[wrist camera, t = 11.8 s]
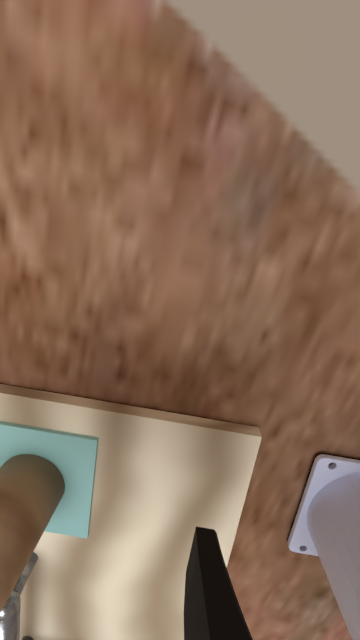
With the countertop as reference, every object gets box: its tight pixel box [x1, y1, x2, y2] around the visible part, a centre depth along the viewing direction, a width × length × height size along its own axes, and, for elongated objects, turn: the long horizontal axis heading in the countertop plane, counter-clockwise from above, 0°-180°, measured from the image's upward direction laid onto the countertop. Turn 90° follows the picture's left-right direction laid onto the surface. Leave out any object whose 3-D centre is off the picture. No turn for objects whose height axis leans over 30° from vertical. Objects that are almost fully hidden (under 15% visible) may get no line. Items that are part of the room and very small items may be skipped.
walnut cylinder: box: [0, 454, 65, 610], centre depth 17 cm, size 4×4×6 cm
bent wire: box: [0, 552, 38, 640], centre depth 21 cm, size 8×11×4 cm
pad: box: [0, 421, 99, 538], centre depth 20 cm, size 8×8×1 cm
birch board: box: [0, 384, 262, 640], centre depth 22 cm, size 20×26×1 cm
